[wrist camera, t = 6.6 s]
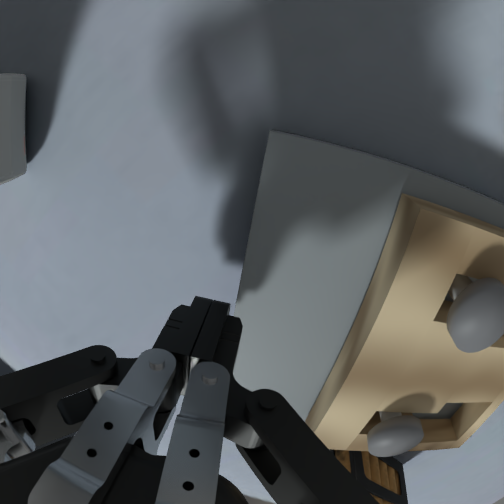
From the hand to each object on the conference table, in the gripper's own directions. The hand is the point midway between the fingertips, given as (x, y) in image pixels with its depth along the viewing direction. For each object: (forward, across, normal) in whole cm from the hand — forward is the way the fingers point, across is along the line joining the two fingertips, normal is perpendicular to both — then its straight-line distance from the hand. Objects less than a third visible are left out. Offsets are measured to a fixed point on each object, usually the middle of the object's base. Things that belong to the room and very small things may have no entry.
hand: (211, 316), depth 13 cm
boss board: (+2, -10, 0) cm, 10 cm away
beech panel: (+1, -12, 0) cm, 12 cm away
